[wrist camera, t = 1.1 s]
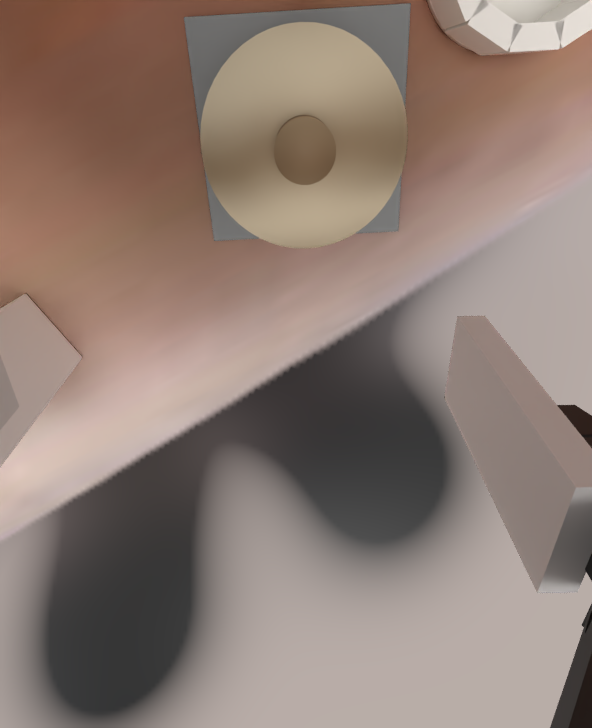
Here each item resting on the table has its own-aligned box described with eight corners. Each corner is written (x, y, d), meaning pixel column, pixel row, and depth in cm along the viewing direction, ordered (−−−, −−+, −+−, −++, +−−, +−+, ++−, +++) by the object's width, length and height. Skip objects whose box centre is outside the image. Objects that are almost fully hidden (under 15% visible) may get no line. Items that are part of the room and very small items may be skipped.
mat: (185, 18, 26) (183, 17, 26) (409, 4, 26) (410, 3, 26) (214, 239, 32) (214, 240, 32) (397, 229, 32) (398, 231, 32)
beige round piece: (205, 38, 27) (175, 24, 20) (390, 27, 26) (426, 9, 19) (227, 224, 32) (209, 265, 25) (383, 216, 31) (409, 255, 24)
